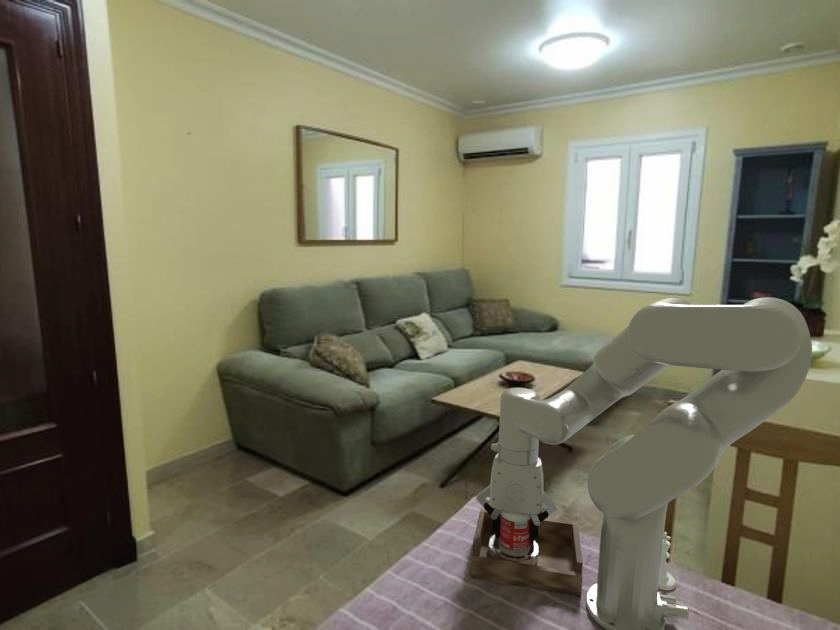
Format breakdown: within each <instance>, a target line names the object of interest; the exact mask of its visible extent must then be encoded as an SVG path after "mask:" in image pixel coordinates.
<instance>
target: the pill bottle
mask: <svg viewBox="0 0 840 630" xmlns="http://www.w3.org/2000/svg"><path fill="white" fill-rule="evenodd" d="M530 534H531V515H530V514H522V513H515V512H507V511H500V525H499V547H500V549H501V551H502V552H504V553H505V554H507V555H509V556H513V557H521V556H524V555H526V554H527V553H528V552H529V550H530Z"/></svg>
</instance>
